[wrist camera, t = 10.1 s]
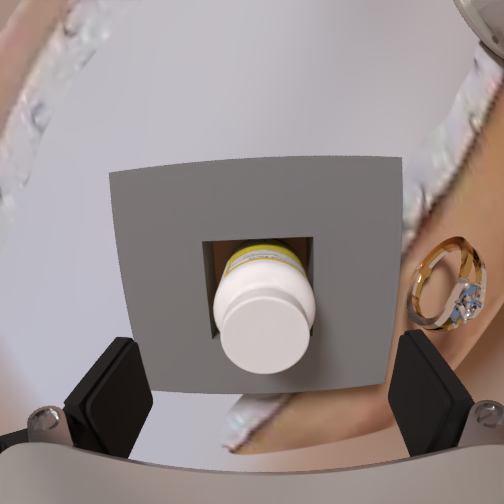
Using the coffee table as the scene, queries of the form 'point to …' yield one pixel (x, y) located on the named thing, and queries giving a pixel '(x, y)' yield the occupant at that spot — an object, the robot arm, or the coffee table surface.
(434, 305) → the coffee table surface
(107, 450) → the robot arm
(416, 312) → the ring
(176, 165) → the socket block
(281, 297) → the supplement bottle
